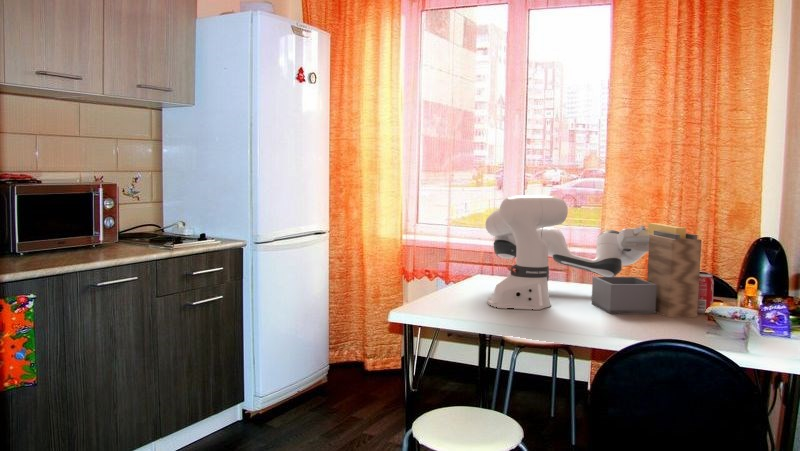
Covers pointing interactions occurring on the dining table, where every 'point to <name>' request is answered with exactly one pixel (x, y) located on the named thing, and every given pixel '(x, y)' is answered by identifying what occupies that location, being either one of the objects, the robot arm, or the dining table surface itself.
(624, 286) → the bin
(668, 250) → the stand
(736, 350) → the dining table surface
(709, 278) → the soda can
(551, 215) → the robot arm
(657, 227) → the bar
